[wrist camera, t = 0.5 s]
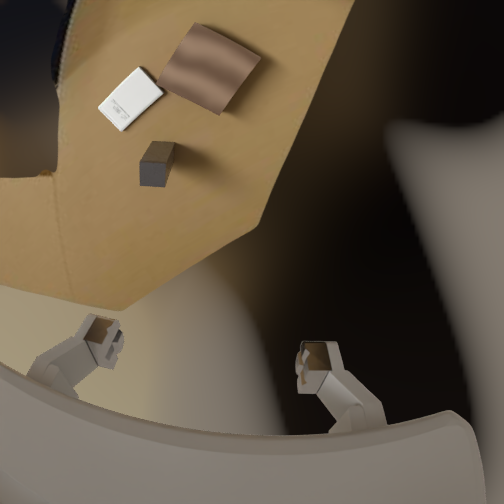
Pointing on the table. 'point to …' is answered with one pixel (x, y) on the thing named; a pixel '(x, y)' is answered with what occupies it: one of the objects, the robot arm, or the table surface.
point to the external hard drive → (130, 98)
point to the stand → (207, 68)
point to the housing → (157, 164)
